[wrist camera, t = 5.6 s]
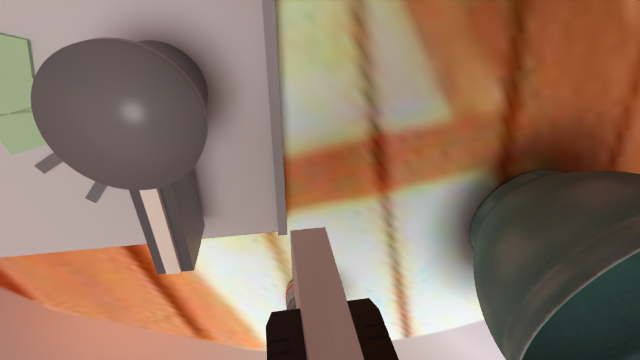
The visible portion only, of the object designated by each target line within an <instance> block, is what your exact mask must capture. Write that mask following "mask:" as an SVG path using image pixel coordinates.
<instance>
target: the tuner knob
mask: <svg viewBox="0 0 640 360" xmlns="http://www.w3.org/2000/svg"><path fill="white" fill-rule="evenodd" d="M207 100H208V91H207V85H206V81H205V79H204V76H203V74H202V72H201V70H200V69H199V67H198V66H197V64H196V63H195V62H194V61H193V60H192V59H191V58H190V57H189V56H188V55H187V54H185V53H184V52H183V51H181V50H180V49H178V48H176V47H174V46H172V45H170V44H167V43H164V42H160V41H154V40H144V41H138V42H135V41H131V40H127V39H121V38H110V37H103V38H93V39H88V40H84V41H80V42H77V43H73V44H71V45H68V46H65V47H63V48H61V49H59V50H58V51H56V52H54V53H53V54H52V55H51V56H50V57H48V58H47V59H46V60H45V61H44V63H43V64H42V65H41V66H40V68H39V69H38V71H37V73H36V75H35V77H34V80H33V84H32V88H31V109H32V113H33V117H34V120H35V123H36V125H37V128H38V130H39V132H40V134H41V135H42V137H43V139H44V140H45V142H46V143H47V144H48V146H49V147H50V148H51V149H52V151H53V152H54V153H55V154H56V155H57V156H58V157H59V158H60V159H61V160H62V161H63V162H64V163H66V164H67V165H68V166H70V167H71V168H72V169H74V170H75V171H77V172H78V173H80V174H82V175H83V176H85V177H87V178H89V179H91V180H93V181H96V182H98V183H101V184H103V185H107V186H110V187H114V188H119V189H125V190H129V192H130V195H131V198H132V201H133V204H134V207H135V210H136V213H137V215H138V218H139V221H140V224H141V227H142V230H143V233H144V236H145V239H146V242H147V245H148V247H149V250H150V253H151V256H152V259H153V262H154V265H155V268H156V271H157V274H163V273H166V274H176V273H181V272H182V271H192V270H194V269H195V264H196V260H197V256H198V252H199V248H200V244H201V239H202V235H203V231H204V227H205V223H204V219H203V214H202V209H201V205H200V200H199V196H198V191H197V186H196V182H195V177H194V172H193V167H194V166H195V165H196V163H197V162H198V160H199V158H200V156H201V154H202V151H203V149H204V146H205V143H206V140H207V135H208V115H207V111H206V105H207Z"/></svg>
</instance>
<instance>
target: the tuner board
mask: <svg viewBox="0 0 640 360" xmlns="http://www.w3.org/2000/svg"><path fill="white" fill-rule="evenodd" d="M0 33H3V34H7V35H12V36H16V37H21V38H25V39H29V40H30V43H31V50H32V57H33V65H34V72H35V75H36V73H37V71H38V69H39V68H40V66H41V65H42V64H43V63H44V61H45V60H46V59H47V58H48V57H50V56H51V55H52V54H53V53H54V52H56V51H58V50H59V49H61V48H63V47H65V46H68V45H71V44H73V43H77V42H80V41H84V40H88V39H93V38H103V37H110V38H121V39H127V40H131V41H135V42H138V41H144V40H154V41H160V42H164V43H167V44H170V45H172V46H174V47H176V48H178V49H180V50H181V51H183V52H184V53H185V54H187V55H188V56H189V57H190V58H191V59H192V60H193V61H194V62H195V63H196V64H197V66H198V67H199V69H200V70H201V72H202V74H203V76H204V79H205V81H206V85H207V91H208V100H207V105H206V111H207V115H208V135H207V140H206V143H205V146H204V149H203V151H202V154H201V156H200V158H199V160H198V162H197V163H196V165H195V166H194V167H193V172H194V177H195V182H196V186H197V191H198V196H199V200H200V205H201V209H202V214H203V219H204V223H205V227H204V231H203V235H202V239H204V238H214V237H225V236H236V235H247V234H258V233H268V232H278V235H287V218H286V199H285V180H284V161H283V142H282V124H281V105H280V86H279V67H278V48H277V29H276V10H275V0H0ZM0 115H4V114H0ZM52 153H54V152H53V151H52V149H51V148H50V147H49V146H48V144H46V145H43V146H39V147H36V148H33V149H30V150H26V151H23V152H20V153H16V154H13V155H12V154H11V153H10V152H9V151H8V150H7V149H6V147H5V146H4V145H3V144H2V143H1V142H0V257H10V256H21V255H31V254H42V253H53V252H64V251H74V250H85V249H96V248H107V247H118V246H128V245H139V244H147V242H146V239H145V236H144V233H143V230H142V227H141V224H140V221H139V218H138V216H137V213H136V210H135V207H134V204H133V201H132V198H131V195H130V192H129V190H125V189H119V188H114V187H110V186H107V187H106V188H105V190H104V192H103V193H102V195H101V196H100V198H99V199H98V201H97V202H96V203H94V202H92V201H89V200H87V199H85V197H86V196H87V194H88V192H89V191H90V189H91V188H92V186H93V184H94V183H95V181H93V180H91V179H89V178H87V177H85V176H83V175H82V174H80V173H78V172H77V171H75V170H74V169H72V168H71V167H70V166H68V165H67V164H66V163H64V162H62V163H60V164H59V165H57V166H56V167H54V168H53V169H51V170H50V171H48V172H47V173H45V174H44V173H42V172H41V171H40V170H38V169H37V168H36V167H35V165H36V164H37V163H39V162H40V161H42V160H43V159H45V158H46V157H48V156H49V155H51V154H52Z"/></svg>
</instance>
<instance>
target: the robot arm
mask: <svg viewBox="0 0 640 360" xmlns="http://www.w3.org/2000/svg"><path fill="white" fill-rule="evenodd" d="M290 233H291V255H292V277H293V285H294V293H295V301H296V309H291V310H284V311H277V312H272V313H271V315H270V318H269V320H268V323H267V325H266V341H267V360H399V359H398V357H397V354H396V352H395V349H394V347H393V344H392V341H391V339H390V337H389V334H388V331H387V328H386V326H385V325H384V321H383V318H382V316H381V313H380V311H379V309H378V308H377V306H376V305H375V304H374V303H373V302H372V301H371V300H370V299H369V298H366V299H359V300H351V301H347V300H346V297H345V293H344V290H343V286H342V283H341V280H340V276H339V273H338V270H337V266H336V263H335V259H334V256H333V253H332V249H331V246H330V242H329V239H328V236H327V232H326V229H325V227H323V228H313V229H303V230H293V231H290Z"/></svg>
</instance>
